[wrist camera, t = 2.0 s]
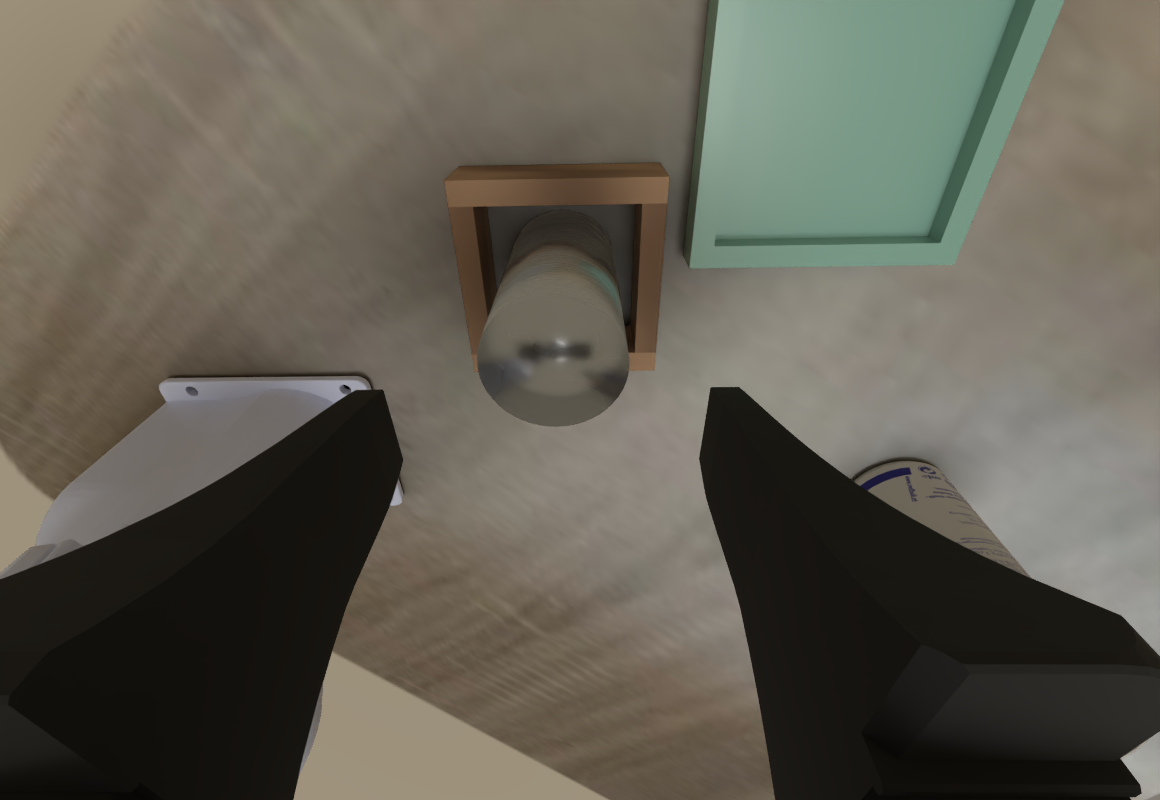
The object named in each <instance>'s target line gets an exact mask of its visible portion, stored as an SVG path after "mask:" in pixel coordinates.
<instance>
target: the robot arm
mask: <svg viewBox="0 0 1160 800" xmlns="http://www.w3.org/2000/svg"><path fill="white" fill-rule="evenodd" d="M343 385H347V386H349V387H350V389H351V390H349V389H346V388H345V387H344V386H343ZM193 388H195V389H196V390H197V391H196V390H195V389H193ZM159 390H160V392H161V394H162V395H163V397H164V399H165V400H166V403H165V404H164V405H163V406H161V407H160V408H159V409H158V410H157V411H155V412H154V413H153V414H152V415H151V416H150V417H148V418H147V419H146V420H145V421H144V422H142V423H141V424H140V425H139V426H138V427H136V428H135V429H134V430H133V431H132V432H131V433H129V434H128V435H127V436H126V437H125V438H123V439H122V440H121V441H120V442H119V443H117V444H116V445H115V446H114V447H113V448H112V449H110V450H109V451H108V452H107V453H106V454H104V455H103V456H102V457H101V458H100V459H98V460H97V461H96V462H95V463H94V464H93V465H91V466H90V467H89V468H88V469H87V470H85V471H84V472H83V473H82V474H81V475H79V476H78V477H77V478H76V479H75V480H73V481H72V482H71V483H70V484H69V485H68V486H67V487H66V488H65V489H64V490H63V491H62V492H61V493H60V494H59V495H58V497H57V498H56V499H55V501H54V502H53V503H52V505H51V507H50V509H49V510H48V512H47V514H46V515H45V517H44V520H43V522H42V524H41V527H40V530H39V532H38V535H37V539H36V544H35V546H34V547H31V548H29V549H28V550H27V551H25V552H24V553H23V554H22V555H21V556H19V557H18V558H17V559H16V560H15V561H14V562H13V563H11V564H10V565H9V566H8V567H7V568H5V569H4V570H3V571H2V572H1V573H0V800H293V798H294V794H295V789H296V785H297V780H298V776H299V774H300V772H301V770H302V768H303V766H304V764H305V762H306V759H307V757H308V755H309V753H310V750H311V748H312V745H313V742H314V739H315V736H316V733H317V730H318V726H319V721H320V717H321V709H322V692H323V680H324V677H325V674H326V670H327V667H328V663H329V660H330V656H331V653H332V650H333V647H334V643H335V640H336V637H337V634H338V631H339V628H340V625H341V622H342V618H343V615H344V612H345V609H346V606H347V604H348V601H349V599H350V596H351V593H352V591H353V588H354V586H355V584H356V581H357V579H358V577H359V575H360V572H361V570H362V568H363V566H364V563H365V561H366V559H367V557H368V554H369V552H370V550H371V548H372V545H373V543H374V541H375V539H376V536H377V534H378V532H379V530H380V527H381V525H382V523H383V520H384V518H385V516H386V513H387V511H388V509H389V506H395V505H399V504H401V502H402V500H403V498H404V494H403V491H402V488H401V485H400V481H399V474H400V470H401V467H402V463H403V457H402V454H401V450H400V447H399V443H398V440H397V436H396V433H395V429H394V426H393V422H392V419H391V415H390V412H389V408H388V405H387V401H386V398H385V394H384V391H383V390H371V387H370V384H369V382H368V381H367V380H366V379H364V378H362V377H359V376H317V377H225V378H168V379H165V380H164V381H163V382H162V383H161V384H159ZM699 460H700V466H701V472H702V478H703V483H704V489H705V494H706V499H707V502H708V505H709V508H710V512H711V515H712V518H713V521H714V524H715V528H716V531H717V534H718V537H719V540H720V543H721V546H722V549H723V552H724V556H725V559H726V562H727V565H728V568H729V571H730V574H731V577H732V580H733V583H734V587H735V590H736V594H737V598H738V601H739V605H740V609H741V614H742V618H743V623H744V628H745V633H746V637H747V642H748V647H749V652H750V657H751V662H752V667H753V672H754V678H755V683H756V688H757V693H758V698H759V704H760V710H761V715H762V721H763V727H764V733H765V739H766V744H767V750H768V756H769V762H770V769H771V775H772V782H773V788H774V795H775V800H1131V799H1130V798H1129V797H1136V796H1138V795H1140V794H1141V787H1140V784H1139V783H1138V782H1137V780H1136V779H1135V778H1134V776H1133V775H1132V774H1131V772H1130V771H1129V770H1128V768H1127V767H1126V766H1125V764H1124V763H1123V762H1122V760H1121V759H1120V758H1121V757H1123V756H1124V755H1126V754H1127V753H1129V752H1130V751H1132V750H1133V749H1135V748H1136V747H1137V746H1139V745H1140V744H1142V743H1143V742H1145V741H1146V740H1148V739H1149V738H1150V737H1152V736H1153V735H1155V734H1156V733H1158V732H1159V731H1160V656H1159V655H1158V654H1157V653H1156V652H1155V651H1154V650H1153V649H1152V648H1151V647H1150V645H1149V644H1148V643H1147V642H1146V641H1145V640H1144V639H1143V638H1142V637H1141V636H1140V635H1139V634H1138V633H1137V632H1136V631H1135V630H1134V628H1133V627H1132V626H1131V625H1130V624H1129V623H1128V622H1127V621H1126V620H1125V619H1124V618H1123V617H1122V616H1121V615H1119V614H1116V613H1114V612H1111V611H1109V610H1106V609H1104V608H1102V607H1099V606H1097V605H1094V604H1092V603H1090V602H1087V601H1085V600H1082V599H1080V598H1077V597H1075V596H1073V595H1070V594H1068V593H1065V592H1063V591H1060V590H1058V589H1056V588H1053V587H1051V586H1048V585H1046V584H1044V583H1041V582H1039V581H1036V580H1034V579H1032V578H1029V577H1027V576H1025V575H1023V574H1021V573H1018V572H1016V571H1014V570H1012V569H1010V568H1008V567H1006V566H1004V565H1001V564H999V563H997V562H995V561H993V560H991V559H989V558H987V557H984V556H982V555H980V554H978V553H976V552H974V551H972V550H970V549H968V548H966V547H964V546H962V545H960V544H958V543H956V542H954V541H952V540H951V539H949V538H947V537H945V536H943V535H941V534H939V533H938V532H936V531H934V530H932V529H930V528H929V527H927V526H925V525H923V524H921V523H920V522H918V521H916V520H914V519H912V518H911V517H909V516H907V515H905V514H904V513H902V512H900V511H899V510H897V509H895V508H894V507H892V506H890V505H889V504H887V503H886V502H884V501H883V500H881V499H879V498H878V497H876V496H875V495H873V494H872V493H870V492H869V491H867V490H866V489H864V488H862V487H861V486H859V485H858V484H856V483H855V482H854V481H852V480H851V479H849V478H848V477H846V476H845V475H844V474H842V473H841V472H840V471H838V470H837V469H836V468H834V467H833V466H832V465H830V464H829V463H828V462H826V461H825V460H824V459H822V458H821V457H820V456H818V455H817V454H816V453H815V452H813V451H812V450H811V449H810V448H808V447H807V446H806V445H805V444H803V443H802V442H801V441H800V440H799V439H797V438H796V437H795V436H794V435H793V434H791V433H790V432H789V431H788V430H787V429H786V428H785V427H783V426H782V425H781V424H780V423H779V422H778V421H777V420H775V419H774V418H773V417H772V416H771V415H770V414H769V413H768V412H766V411H765V410H764V409H763V408H762V407H761V406H760V405H759V404H758V403H757V402H755V401H754V400H753V399H752V398H751V397H750V396H749V395H748V394H746V393H745V392H744V391H743V390H742V389H740V388H739V387H711V389H710V395H709V401H708V408H707V414H706V420H705V426H704V432H703V439H702V445H701V451H700V457H699Z"/></svg>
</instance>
